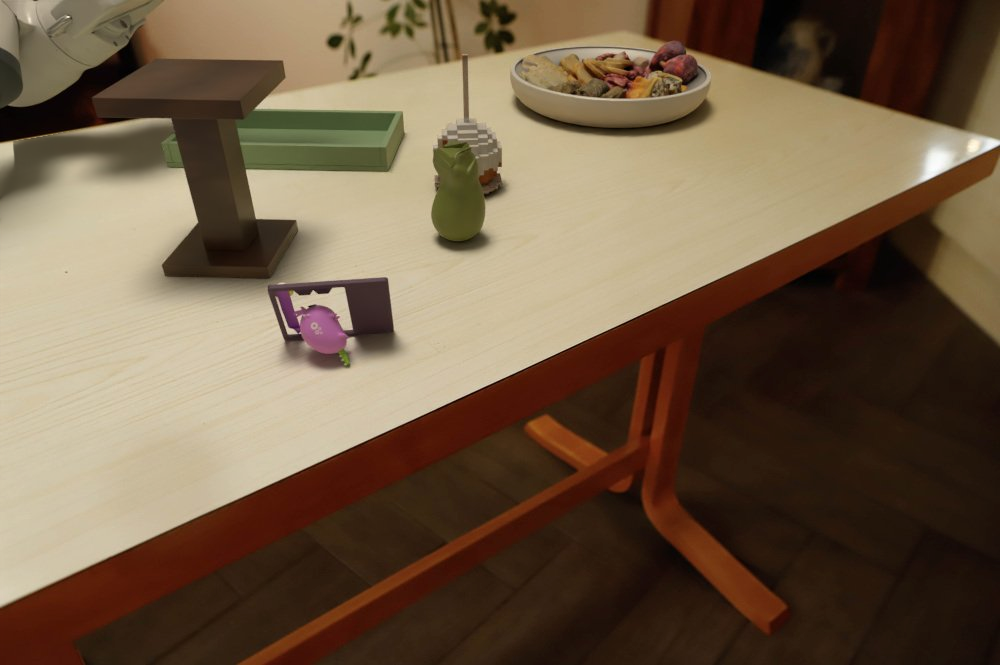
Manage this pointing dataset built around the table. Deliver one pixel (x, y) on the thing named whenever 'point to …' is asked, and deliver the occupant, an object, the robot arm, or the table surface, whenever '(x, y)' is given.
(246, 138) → the green tray
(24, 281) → the table surface
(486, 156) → the decorative ornament
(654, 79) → the bowl
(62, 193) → the table surface
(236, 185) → the walnut stand
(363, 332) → the pop-out character card
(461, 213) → the green rounded figure
